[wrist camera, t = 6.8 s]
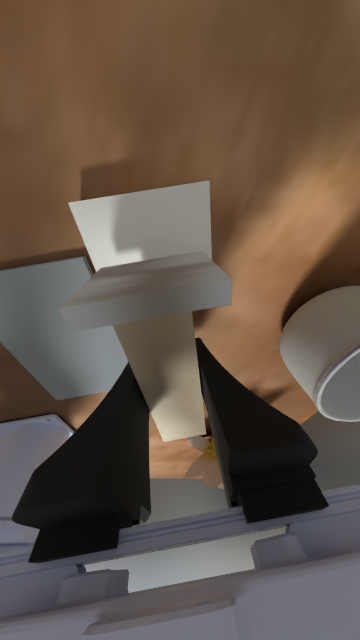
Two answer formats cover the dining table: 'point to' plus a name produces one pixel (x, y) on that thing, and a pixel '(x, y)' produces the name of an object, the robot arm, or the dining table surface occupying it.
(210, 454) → the decorative flower
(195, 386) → the pusher
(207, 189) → the tile
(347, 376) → the teacup
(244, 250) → the dining table surface
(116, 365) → the mat
